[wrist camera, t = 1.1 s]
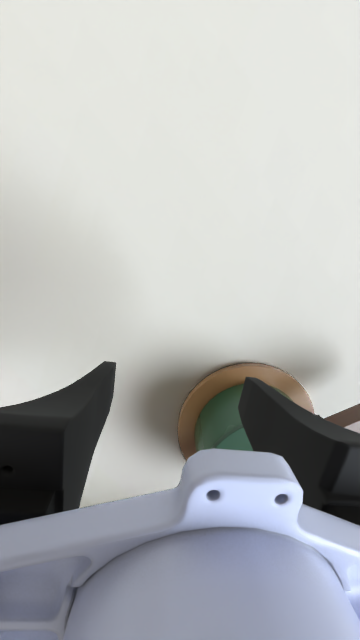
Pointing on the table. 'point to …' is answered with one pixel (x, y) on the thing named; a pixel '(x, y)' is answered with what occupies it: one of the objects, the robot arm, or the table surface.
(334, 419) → the pot
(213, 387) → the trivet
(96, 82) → the table surface
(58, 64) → the table surface
